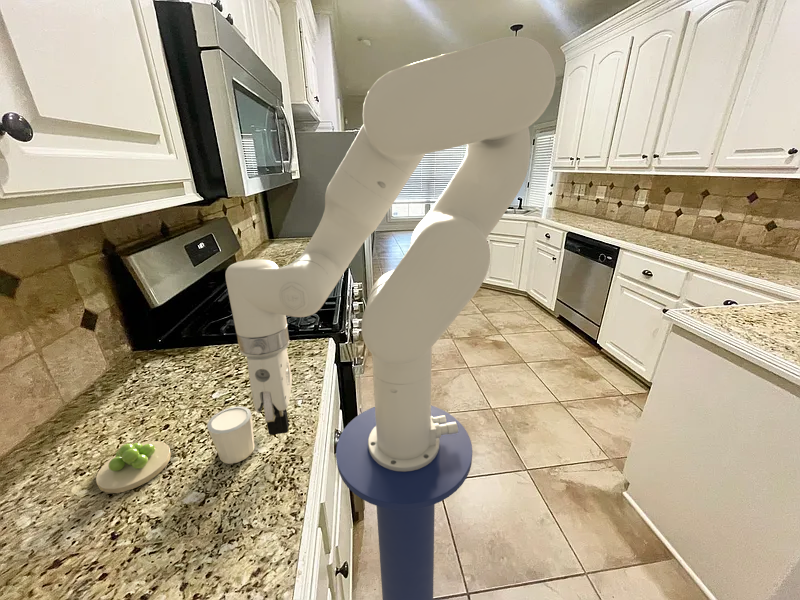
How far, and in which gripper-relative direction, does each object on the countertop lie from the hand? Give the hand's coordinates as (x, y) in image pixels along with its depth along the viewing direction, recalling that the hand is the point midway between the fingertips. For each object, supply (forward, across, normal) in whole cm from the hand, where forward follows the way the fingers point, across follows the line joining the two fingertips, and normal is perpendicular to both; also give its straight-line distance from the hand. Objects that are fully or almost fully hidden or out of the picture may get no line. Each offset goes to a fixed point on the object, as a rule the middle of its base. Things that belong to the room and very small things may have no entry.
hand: (279, 430), depth 61 cm
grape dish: (+3, 0, +23) cm, 24 cm away
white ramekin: (+3, 0, +7) cm, 8 cm away
